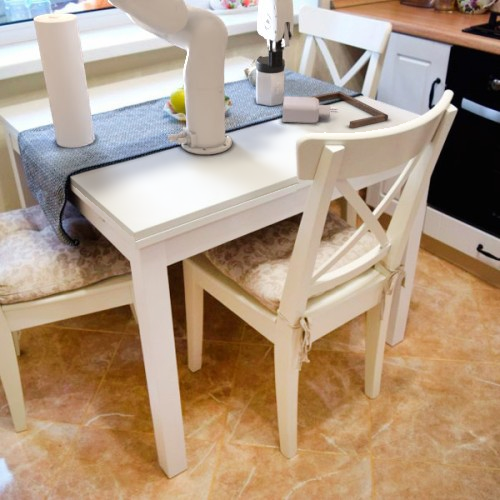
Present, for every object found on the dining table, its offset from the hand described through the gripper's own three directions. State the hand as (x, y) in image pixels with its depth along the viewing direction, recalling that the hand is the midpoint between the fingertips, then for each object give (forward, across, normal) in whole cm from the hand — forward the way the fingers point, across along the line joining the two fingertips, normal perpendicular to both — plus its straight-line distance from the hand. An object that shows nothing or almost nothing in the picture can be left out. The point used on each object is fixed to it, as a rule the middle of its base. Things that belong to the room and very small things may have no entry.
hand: (275, 66), depth 149 cm
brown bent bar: (+16, 0, +24) cm, 29 cm away
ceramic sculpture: (+16, -33, +14) cm, 39 cm away
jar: (+16, -17, +8) cm, 25 cm away
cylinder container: (+15, -15, -50) cm, 54 cm away
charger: (+16, 0, +12) cm, 20 cm away
